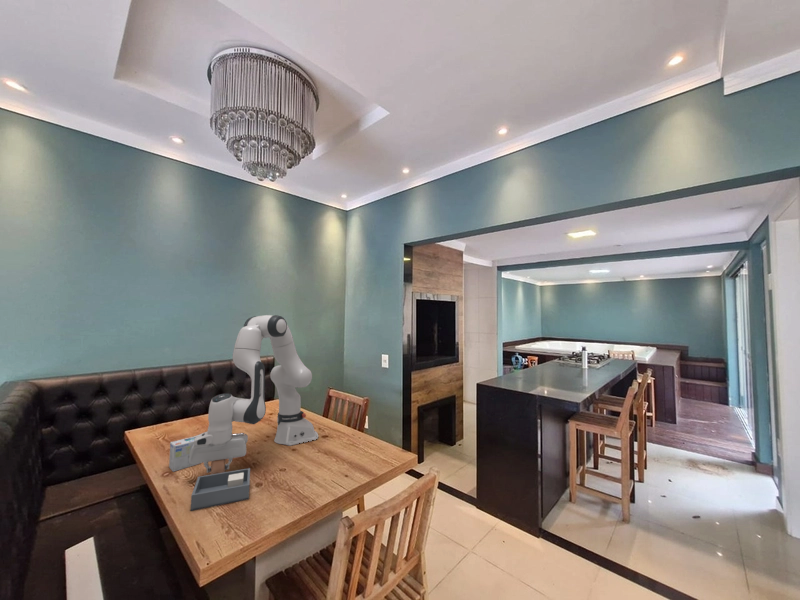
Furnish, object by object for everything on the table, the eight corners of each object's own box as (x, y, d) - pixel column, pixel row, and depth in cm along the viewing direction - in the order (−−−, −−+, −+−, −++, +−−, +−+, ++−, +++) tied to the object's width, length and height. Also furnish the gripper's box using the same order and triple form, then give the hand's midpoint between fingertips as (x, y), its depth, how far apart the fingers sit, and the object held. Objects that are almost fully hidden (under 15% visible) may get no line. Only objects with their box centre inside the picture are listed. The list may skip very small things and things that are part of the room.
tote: (249, 481, 124) (250, 468, 124) (248, 499, 112) (249, 484, 112) (197, 490, 117) (198, 476, 117) (190, 511, 104) (191, 495, 105)
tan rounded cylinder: (225, 473, 130) (226, 456, 130) (224, 478, 125) (225, 461, 126) (211, 475, 128) (212, 458, 128) (209, 481, 123) (210, 463, 124)
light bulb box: (196, 459, 142) (197, 434, 143) (201, 463, 138) (203, 438, 139) (168, 467, 134) (169, 441, 135) (172, 472, 130) (174, 445, 131)
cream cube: (228, 488, 117) (228, 474, 118) (243, 485, 119) (243, 472, 120) (227, 495, 113) (227, 481, 113) (242, 492, 115) (243, 478, 115)
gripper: (248, 429, 135) (246, 462, 134) (192, 436, 126) (190, 471, 125) (247, 434, 129) (246, 469, 128) (189, 442, 121) (186, 479, 120)
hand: (218, 470), depth 127 cm, fingers closed on tan rounded cylinder, 5 cm apart
